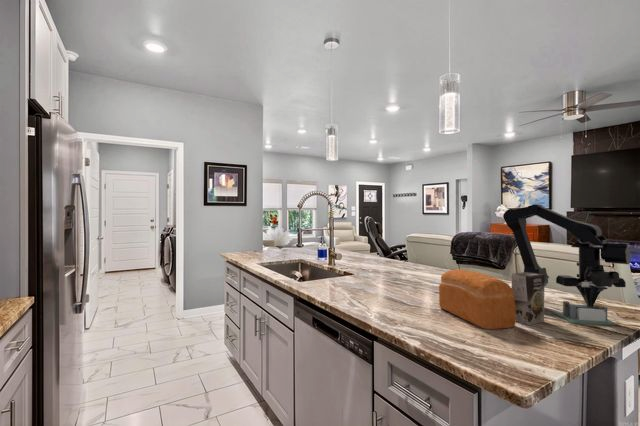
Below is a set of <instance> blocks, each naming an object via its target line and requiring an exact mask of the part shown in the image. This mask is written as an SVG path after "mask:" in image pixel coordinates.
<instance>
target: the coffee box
mask: <svg viewBox="0 0 640 426" xmlns="http://www.w3.org/2000/svg"><path fill="white" fill-rule="evenodd" d="M544 277H545V275H544V274H538V273H529V272H524V271H523V272H516V273H511V288H512V291H513V296H514V299H515V311H516V321H515V322H517V323H521V324H525V325H526V326H530V325H534V324H539V323H542V322H545V287H544V279H545V278H544Z"/></svg>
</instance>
